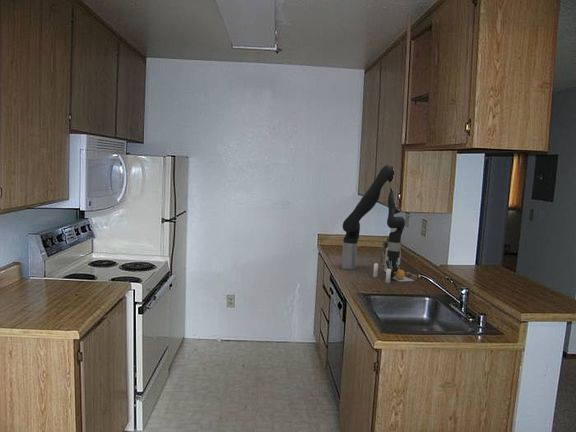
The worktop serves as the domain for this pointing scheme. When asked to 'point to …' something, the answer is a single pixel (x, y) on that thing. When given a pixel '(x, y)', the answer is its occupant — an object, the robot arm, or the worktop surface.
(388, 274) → the right post
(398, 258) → the milk carton
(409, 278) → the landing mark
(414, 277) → the backstop strip
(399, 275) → the ball
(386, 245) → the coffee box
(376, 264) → the left post
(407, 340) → the worktop surface
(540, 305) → the worktop surface
